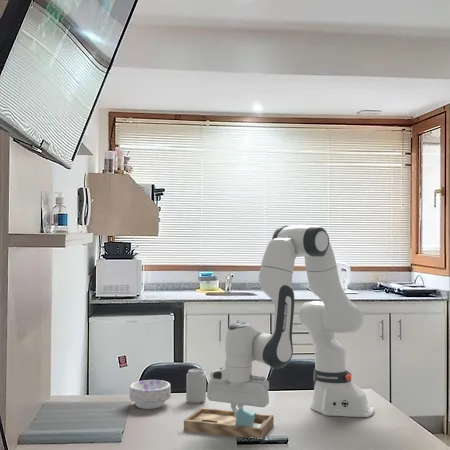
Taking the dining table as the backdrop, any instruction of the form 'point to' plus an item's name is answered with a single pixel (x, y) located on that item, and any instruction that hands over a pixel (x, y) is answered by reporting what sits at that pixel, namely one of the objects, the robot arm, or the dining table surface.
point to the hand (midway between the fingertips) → (237, 417)
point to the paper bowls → (150, 393)
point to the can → (196, 386)
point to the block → (245, 418)
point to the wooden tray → (227, 423)
